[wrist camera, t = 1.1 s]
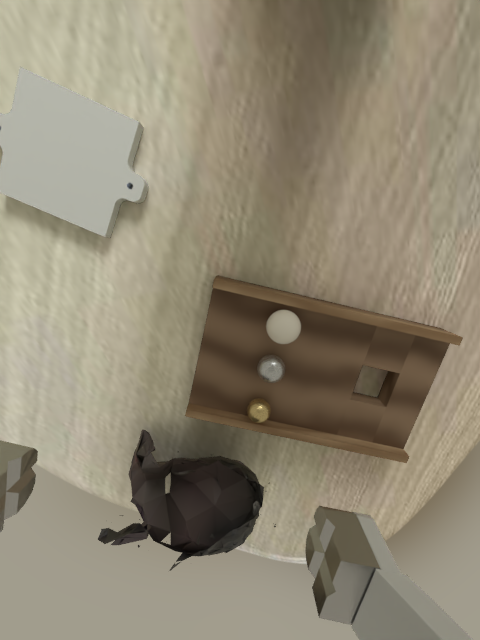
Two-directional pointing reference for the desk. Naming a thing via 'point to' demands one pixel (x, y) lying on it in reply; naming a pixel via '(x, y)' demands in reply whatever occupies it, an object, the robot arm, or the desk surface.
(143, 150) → the desk surface
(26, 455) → the robot arm
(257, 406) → the brass ball
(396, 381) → the board
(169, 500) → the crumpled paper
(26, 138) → the mounting plate
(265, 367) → the steel ball
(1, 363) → the desk surface
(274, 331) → the cream ball
